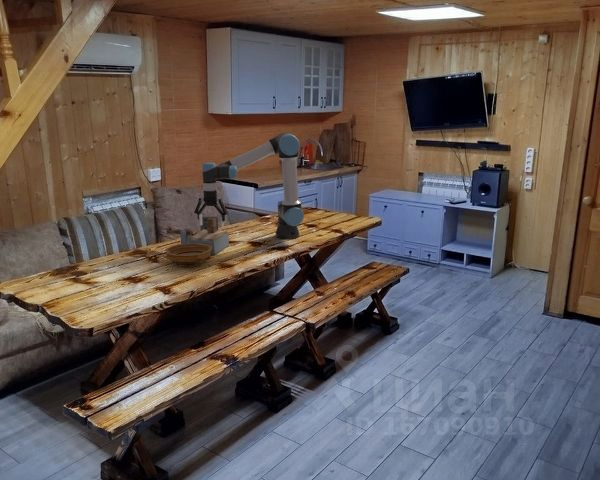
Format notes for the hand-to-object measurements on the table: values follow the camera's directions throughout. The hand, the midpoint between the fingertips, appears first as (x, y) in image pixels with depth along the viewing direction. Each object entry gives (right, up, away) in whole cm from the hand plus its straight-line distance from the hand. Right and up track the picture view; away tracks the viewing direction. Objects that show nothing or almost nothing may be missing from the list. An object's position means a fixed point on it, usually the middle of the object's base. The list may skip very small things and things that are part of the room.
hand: (211, 226), depth 312 cm
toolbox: (-4, -14, -1) cm, 14 cm away
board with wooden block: (-1, -6, -3) cm, 7 cm away
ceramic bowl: (-7, -21, -27) cm, 35 cm away
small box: (-8, -4, +38) cm, 39 cm away
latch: (-18, -4, -3) cm, 19 cm away
